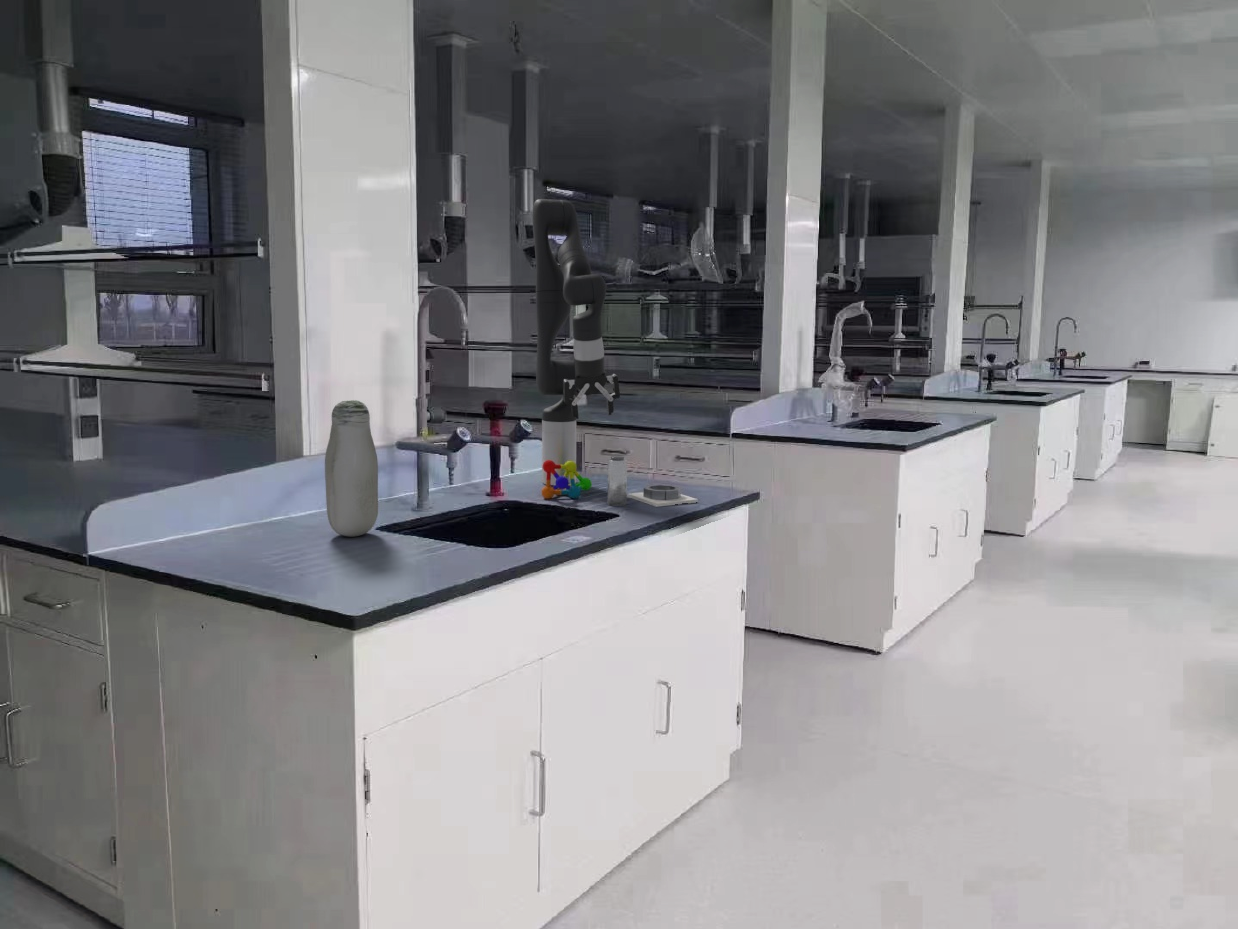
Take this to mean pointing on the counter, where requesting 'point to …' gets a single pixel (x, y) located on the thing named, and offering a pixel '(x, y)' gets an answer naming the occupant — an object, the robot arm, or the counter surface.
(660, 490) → the collar
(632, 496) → the plate
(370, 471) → the grey bottle
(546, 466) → the molecular model
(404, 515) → the counter surface
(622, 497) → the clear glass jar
